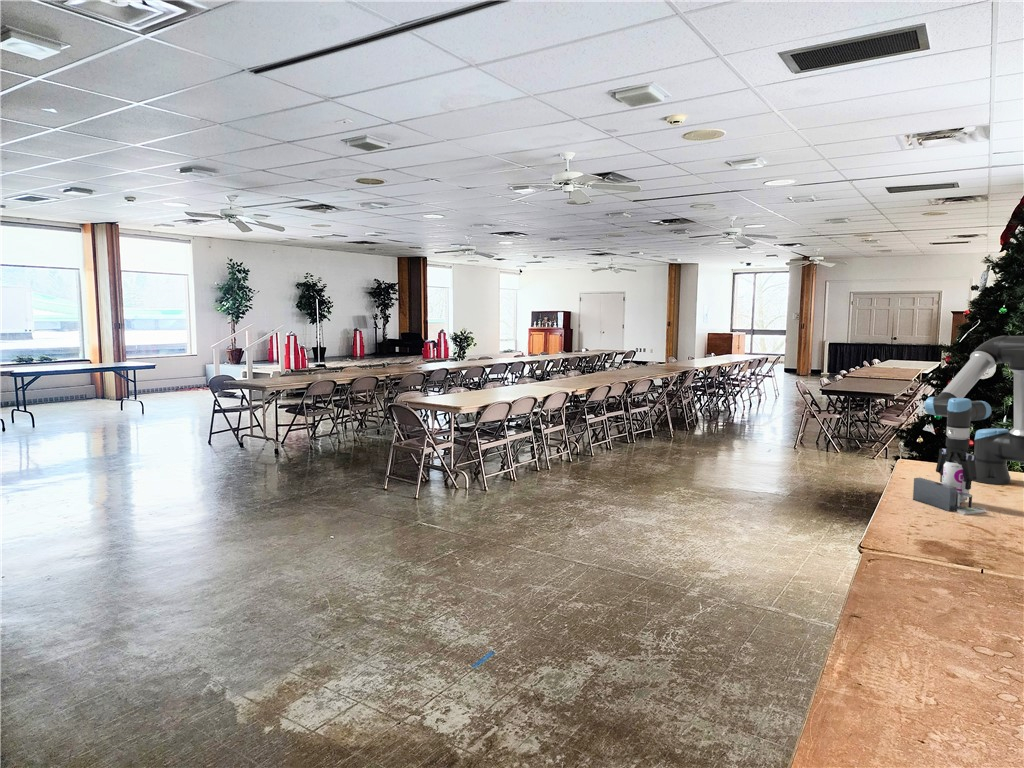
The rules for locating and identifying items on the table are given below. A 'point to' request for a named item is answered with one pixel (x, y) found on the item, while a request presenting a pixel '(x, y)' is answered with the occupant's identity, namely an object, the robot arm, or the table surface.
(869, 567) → the table surface
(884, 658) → the table surface
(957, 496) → the gauge plunger
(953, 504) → the gauge housing
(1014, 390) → the robot arm
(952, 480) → the supplement can
